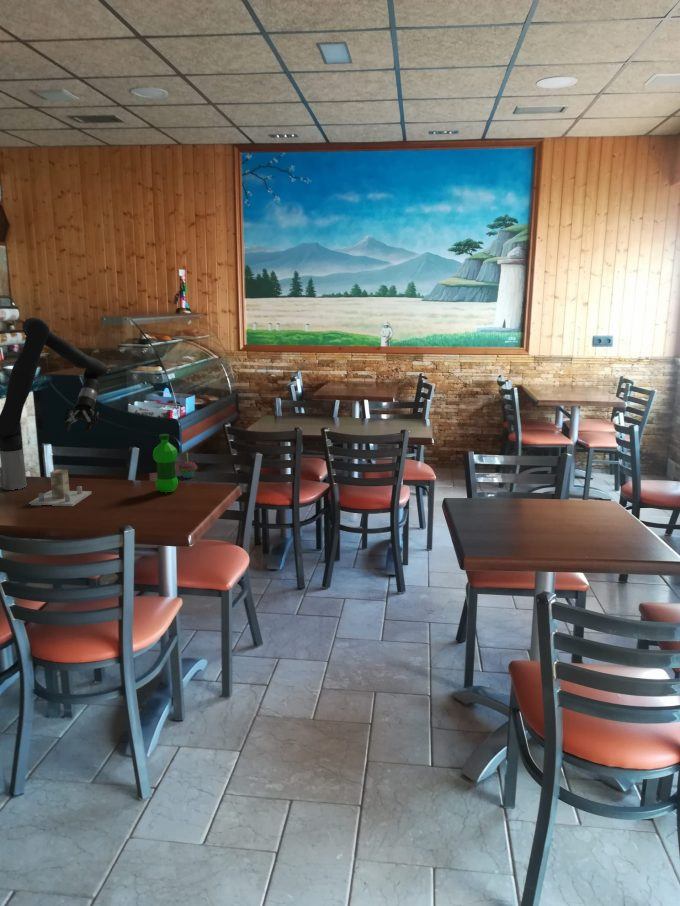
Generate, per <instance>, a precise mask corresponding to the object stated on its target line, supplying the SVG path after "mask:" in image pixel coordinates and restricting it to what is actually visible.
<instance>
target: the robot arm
mask: <svg viewBox="0 0 680 906" xmlns="http://www.w3.org/2000/svg"><path fill="white" fill-rule="evenodd" d="M21 328H22V331H23V333H24V335H25V340H24V344H23V347H22V350H21V353H20V354H19V356H18V357H17V358H16V360H15V362H14V364H13V366H12V369H11V370H10V371H11V372H10V374H9V379H8V384H7V387H6V388H7V389H6V394H5V395H6V396H5V402H4V404H3V407H2V410H1V412H0V485H1V486H0V487H1V490H6V491H16V490H15V489H18V490H22V488H23V489H25V488H27V487H26V486H27V485H28V482H27V476H26V475H27V473H26V465H25V464H26V463H25V455H24V454H25V453H24V446H23V434H22V423H21V420H22V413H23V410H24V406H25V404H26V401H27V400H28V397H29V395H30V393H31V390H32V387H33V385H34V381H35V378H36V375H37V374H36V373H37V370H38V368H39V363H40V358H41V354H42V352H43V349H44V347H45V346H46V347H48V348H50V350H52V351H53V352H55V353H56V354H58V355H59V356H60V357H62V358H63V359H64V360H66V361H67V362H69V363H70V364H71V365H72V366H74V367H76V368H78V369H84V372H83V383H82V386H81V389H80V391H79V393H78V397H77V400H76V403H75V407H74V409H73V410H71V409H69V408H67V409H66V410H65V414H64V416H63V418H62V420H63V422H64V423H65V426H64V429H65V430H66V431H67V432H70V430H71V427H72V424H74V423H76V422H77V421H87V422H86V424H85V425H86V426H85V428H84V430H85V432H86V433H89V432H90V431H91V429H92V425H96V424H98V421H99V417H100V413H99V411H98V410H97V409H95V406H96V402H97V398H98V394H99V391H100V387H101V384H100V382H99V381H98V380H99V379H101V378H103V377H105V376H106V375H108V372H109V371H108V367H107V365H106V364H105V363H104V362H103V361H102V360H100V359H98V358H95V357H93V356H90V355H88V354H86V353H85V352H83V351H82V350H80V349H79V348H78V347H76V346H74V345H73V344H71V343H70V342H68V341H66V340H64V339H63V338H61V337H60V336H58V335H57V334H55V333H54V332H53V331H51V329H50V327H49V324H48V323H47V322H46V321H44V320H43V319H40V318H37V317H30V318H27V319H26V320H24V321H23V323H22V327H21ZM94 409H95V410H94ZM91 416H92V419H91V418H90V417H91ZM24 487H25V488H24Z"/></svg>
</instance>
